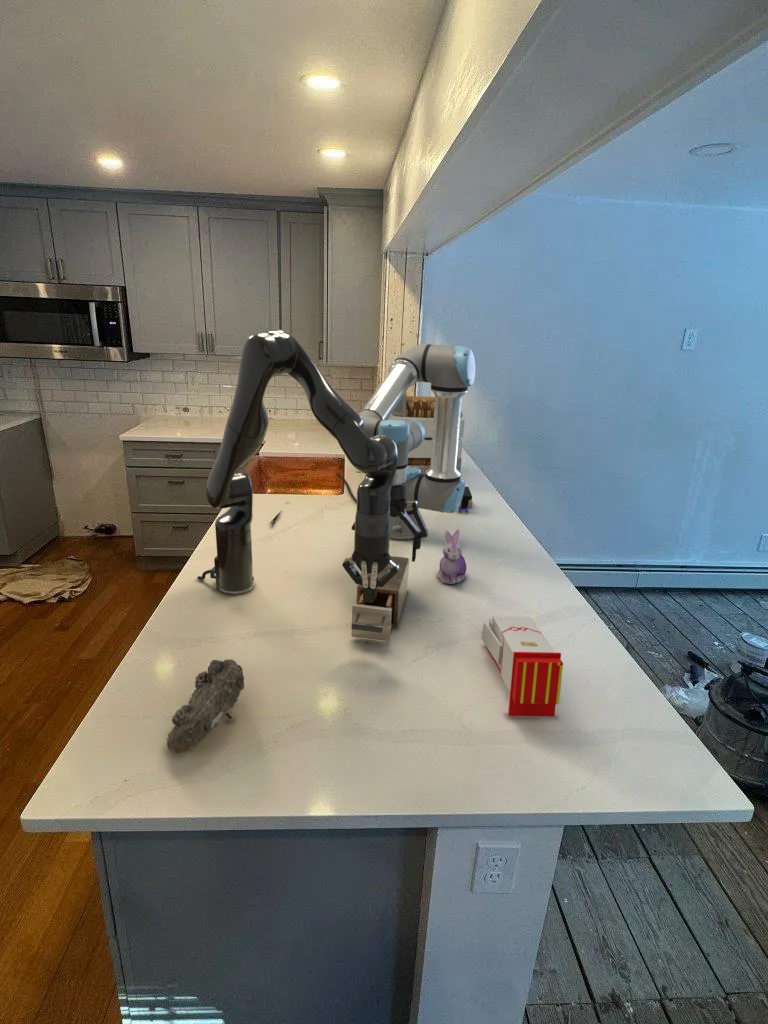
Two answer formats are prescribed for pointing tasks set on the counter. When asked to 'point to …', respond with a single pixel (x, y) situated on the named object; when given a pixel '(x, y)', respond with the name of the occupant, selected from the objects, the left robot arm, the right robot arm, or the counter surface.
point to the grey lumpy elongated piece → (206, 705)
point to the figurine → (452, 560)
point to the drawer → (373, 617)
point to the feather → (274, 519)
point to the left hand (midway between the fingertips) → (369, 601)
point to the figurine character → (466, 500)
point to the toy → (525, 665)
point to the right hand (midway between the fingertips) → (388, 557)
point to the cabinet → (393, 586)
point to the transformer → (424, 414)
